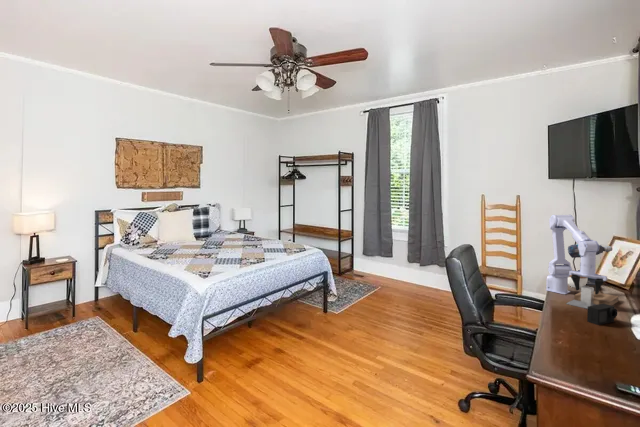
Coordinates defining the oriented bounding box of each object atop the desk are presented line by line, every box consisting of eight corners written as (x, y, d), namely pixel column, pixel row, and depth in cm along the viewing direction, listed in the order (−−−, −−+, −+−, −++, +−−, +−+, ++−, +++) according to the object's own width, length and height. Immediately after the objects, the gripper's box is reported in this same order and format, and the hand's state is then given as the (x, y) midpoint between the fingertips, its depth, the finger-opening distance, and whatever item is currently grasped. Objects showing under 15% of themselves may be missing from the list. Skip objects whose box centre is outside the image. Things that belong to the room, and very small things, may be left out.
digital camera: (601, 326, 134) (601, 310, 134) (587, 321, 139) (587, 306, 139) (617, 323, 137) (618, 307, 137) (603, 318, 142) (603, 303, 142)
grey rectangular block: (580, 304, 159) (581, 287, 158) (583, 303, 161) (583, 285, 161) (590, 307, 156) (591, 289, 155) (593, 305, 158) (594, 287, 157)
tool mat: (565, 303, 161) (565, 303, 161) (573, 299, 167) (573, 299, 167) (601, 312, 150) (601, 311, 150) (608, 307, 155) (608, 307, 155)
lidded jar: (592, 289, 184) (593, 273, 183) (573, 289, 184) (574, 273, 183) (578, 284, 194) (578, 269, 194) (560, 284, 195) (560, 269, 194)
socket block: (574, 299, 168) (574, 294, 167) (584, 294, 175) (584, 289, 175) (609, 306, 156) (609, 301, 156) (618, 301, 164) (618, 296, 164)
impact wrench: (614, 286, 189) (616, 244, 188) (571, 284, 194) (572, 244, 192) (605, 282, 197) (606, 242, 195) (564, 281, 201) (565, 242, 200)
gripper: (567, 263, 161) (566, 289, 162) (604, 268, 149) (603, 297, 150) (572, 261, 165) (571, 287, 166) (609, 266, 153) (608, 294, 154)
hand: (587, 291), depth 158 cm, fingers open, 7 cm apart
